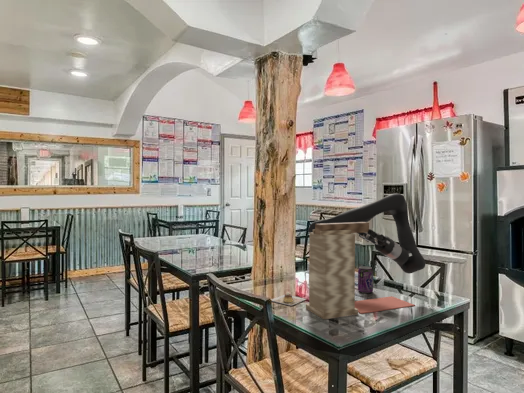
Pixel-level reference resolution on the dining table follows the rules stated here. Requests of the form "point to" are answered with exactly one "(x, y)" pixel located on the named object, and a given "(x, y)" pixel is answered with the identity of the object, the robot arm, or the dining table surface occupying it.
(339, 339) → the dining table surface
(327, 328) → the dining table surface
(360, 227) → the block
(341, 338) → the dining table surface
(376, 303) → the mat
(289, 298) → the dessert
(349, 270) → the pedestal
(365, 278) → the beverage can
